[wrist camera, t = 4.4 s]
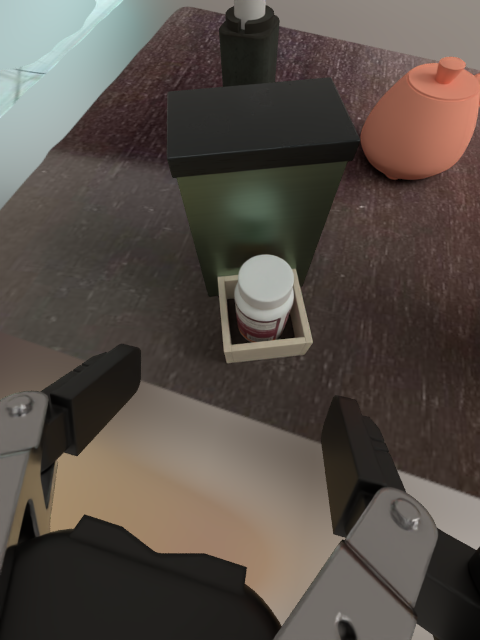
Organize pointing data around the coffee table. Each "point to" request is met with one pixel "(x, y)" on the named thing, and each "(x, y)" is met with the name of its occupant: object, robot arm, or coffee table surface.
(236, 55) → the candle
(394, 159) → the sugar bowl
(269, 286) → the pill bottle
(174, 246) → the coffee table surface
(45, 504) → the robot arm
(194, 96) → the dispenser
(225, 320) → the dock
